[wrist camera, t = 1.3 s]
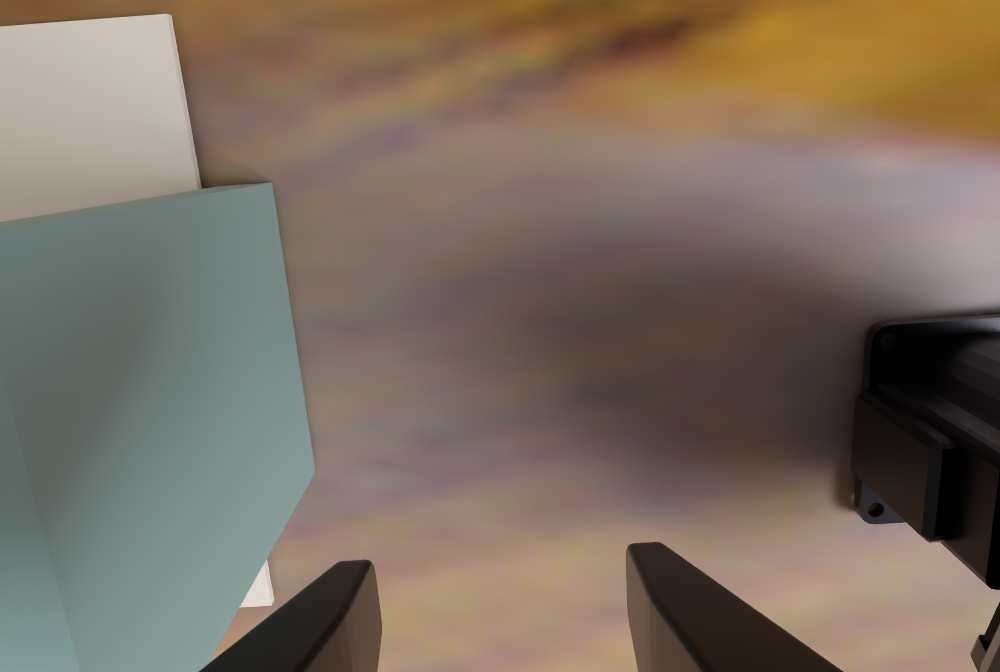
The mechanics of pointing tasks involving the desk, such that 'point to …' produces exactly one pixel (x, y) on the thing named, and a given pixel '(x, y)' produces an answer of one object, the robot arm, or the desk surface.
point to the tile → (143, 427)
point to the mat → (95, 126)
